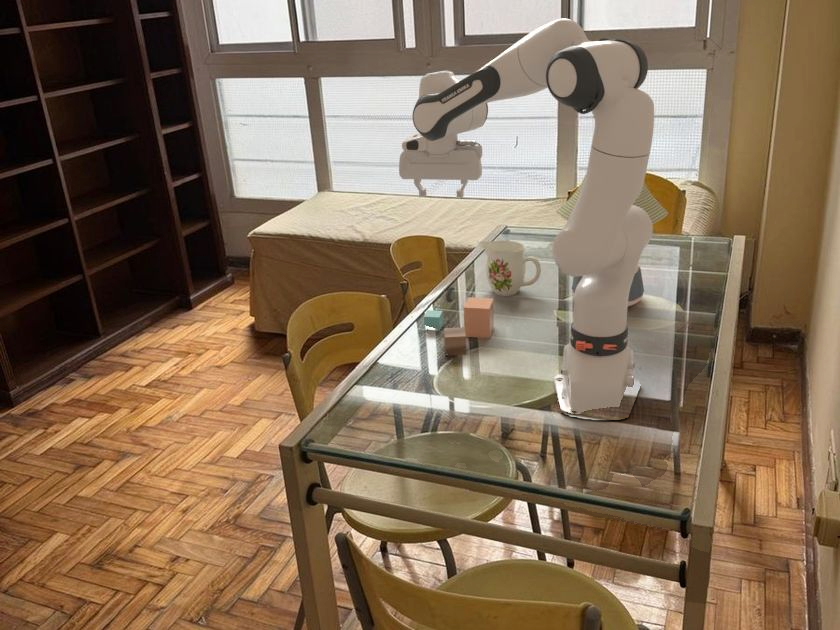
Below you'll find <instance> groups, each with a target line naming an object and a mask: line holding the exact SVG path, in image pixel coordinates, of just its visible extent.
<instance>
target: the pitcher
mask: <svg viewBox="0 0 840 630" xmlns="http://www.w3.org/2000/svg"><path fill="white" fill-rule="evenodd" d="M477 245H478V246H480V247H481V248H483V250H484V252H485V254H486V256H487V258H486V263H485V272H486V278H487V282H488V284H489V287H490V289H491V290H492V291H493V292H494V293H495V294H496V295H498V296H503V297H504V296H505V297H506V296H514V295H516V294H517V293H518V292H519V290H520V289H521V288H522V287H527V286H531V285H533V284H535V283H536V282H537V281H538V280H539V279H540V276H541V274H542V273H541V272H542V267H541V263H540V261H539V259H538V258H536V257H535V256H532V255H531V256H526V257H524V252H525V245H523V243H521V242H517V241H512V240H494V241H479V242H477ZM527 262H532V263H533V264H534V265H535V269H536V272H535V276H534V277H533V278H531V279H529V280H525V276H526V263H527Z"/></svg>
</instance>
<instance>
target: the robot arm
mask: <svg viewBox="0 0 840 630" xmlns="http://www.w3.org/2000/svg"><path fill="white" fill-rule="evenodd" d="M648 62H649V61H648V58H647V55H646V53H645V51H644V49H643V48H642V47H641V46H639V45H638V44H636V43H635V42H631V41H628V40H623V39H615V38H600V39H599V40H595V41H592V40H590V39H588V37H587V35H586V33H585V31H584V29H583V28H582V27H581V26H580V24H579V23H578V22H576V21H574V20H572V19H569V18H558V19H555V20H552V21H550V22H548V23H546V24H543V25H541V26H539V27H538V28H536V29H534V30H532V31H530V32H529V33H527V34H526V35H525V36H522V38H521V39H519V40H518V41H516V42H515V43H514V44H512V45H510V47H508V48H507V49H505V50H503V52H501V53H500V54H499V55H498V56H496V57H494V59H492V60H490V61H489V62H487V63H486V64H485V65H483V66H481V68H479V69H478V70H475V71H474V72H473V73H471V74H469V75H468V76H465V77H464V78H462V79H461V80H459V79H458V78H457V77H456V75H455V73H454V72H453V71H451V70H440V71H435V72H431V73H430V72H428V73H426V74H424V75H423V76H422V77H421V79H420V82H419V89H418V90H419V91H418V99H417V101H416V102H415V104H414V107H413V110H412V122H413V126H414V128H415V130H416V131H417V132H418V133H416V134H414V135H411V136H409V137H406V138H405V139H404V140H403V142H401V148H402V149H401V150H403V151H402V152H401V154H400V156H399V161H398V171H399V173H398V174H399V177H400V178H401V179H403V180H413V184H414V185H415V188H417V190H418V196H419V197H420V198H422V197H423V198H424V197H425V198H426V196H427V188H425V187H423V185H422V183H421V182H422V180H430V181H431V180H435V181H436V180H439V181H441V180H442V181H443V180H444V181H446V180H447V181H448V180H449V181H460V185H462V186H461V188H457V189H456V191H455V192H456V198H464V197H465V196H464V194H465V193H464V191H465V190H464V189H465V188H466V186H467V184H468V183H469V181H478V180H479V179H480V178H481V177H482V175H483V167H482V166H483V165H482V161H481V158H482V157H483V147H482V145H481V144H480V143H479V142H477V141H475V140H458V134H461V133H466V132H467V133H468V132H470V131H473V130H477V129H480V128H482V127H483V126H484V124H485V123H486V120H487V119H488V115H489V106H488V103H493V102H496V101H497V102H498V101H504V100H509V99H516V98H517V99H518V98H522V97H526V96H529V95H530V96H531V95H533V94H537V93H539V92H541V91H544V90H545V89H548V92H549V93H550V94H551V96H552V97H553V98H554V99H555V100H556V101H558V102H559V103H561V104H562V105H564V106H567V107H570V108H572V109H573V110H574V111H576V112H577V113H579V114H580V115H586V114H588V113H591V114H592V115H593V119H594V130H593V134H592V140H591V146H590V150H589V151H590V152H589V157H588V162H587V167H586V173H585V175H586V177H585V176H584V177H585V181H584V185H583V188H582V190H581V193H580V195H579V198H578V200H577V202H576V204H575V207H574V209H573V211H572V213H571V215H570V217H569V219H568V221H567V220H566V221H567V222H566V223H565V224H564V225H563V227H562V229H561V230H560V231H559V232H558V233H557V234H556V236H555V238H554V239H553V241H552V245H551V246H552V247H551V252H552V253H551V254H552V258H553V260H554V263H555V265H556V266H557V268H558V269H559V270H560V271H561V272H562V273H564V274H565V275H567V276H570V277H573V278H574V277H577V276H583V277H582V279H581V281H580V282H579V283H578V285H577V287H576V289H575V293H574V296H573V313H572V314H573V317H572V318H573V320H572V323H570V324H571V326H570V331H569V335H570V336H569V337H570V339H569V341H570V342H569V343H567V344H566V345H565V346H564V347H563V358H562V359H563V360H562V368H561V370H560V373H559V374H555V375H553V380H552V382H553V386H554V391H555V390H556V392H555V394H556V393H557V396H556V399H557V398H558V400H557V403H558V402H559V405H560V409H561V410H562V411H564V412H568V413H571V414H574V413H573V412H572V411H576V412H577V413H575V414H580V413H581V412H584V411H587V410H592V409H599V408H601V409H602V408H607V407H608V408H609V407H619V406H620V403H621V400H622V398H623V395H624V392H625V390H626V387H627V386H628V387H633V385H634V379H635V375H634V374H633V373H634V372H633V371H634V369H635V363H636V362H634V350H633V349H632V348H631V347H630V346H629V345H628V341H629V339H628V338H629V326H628V325H627V317H628V310H629V309H628V307H629V306H628V297H629V292H630V288H631V284H632V281H633V277H634V274H635V271H636V268H637V265H639V262H640V259H641V256H642V254H643V252H644V250H645V248H646V247H647V246H648V244H649V242H650V241H651V239H652V237H653V233H654V230H653V229H654V227H653V226H654V224H652V221H651V219H650V217H649V215H648V214H647V213H646V212H645V211H644V210H643V209H642V208H640V207H638V206H635V205H632V204H633V203H634V201H635V200H636V199H637V198H638V196H639V195H640V193H641V191H642V189H643V184H644V182H645V180H646V174H647V169H648V165H649V164H648V163H649V160H650V154H651V149H652V144H653V143H652V142H653V139H654V138H653V136H654V126H655V104H654V101H653V99H652V97H651V96H650V95H649V94H648V93H647V92H645V91H643V90H641V89H639V88H640V87H641V86H642V85H643V84H644V82H645V80H646V78H647V76H648V73H649V72H648V70H649V63H648ZM559 405H558V406H559ZM560 409H559V410H560Z"/></svg>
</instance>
